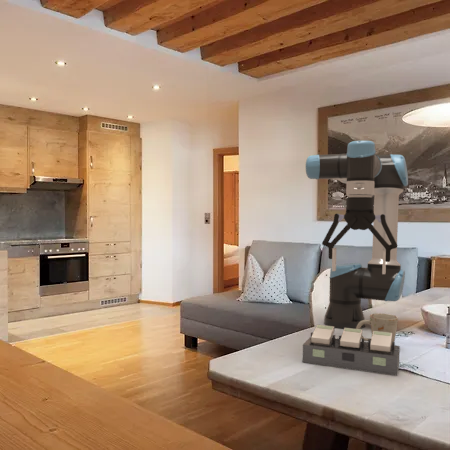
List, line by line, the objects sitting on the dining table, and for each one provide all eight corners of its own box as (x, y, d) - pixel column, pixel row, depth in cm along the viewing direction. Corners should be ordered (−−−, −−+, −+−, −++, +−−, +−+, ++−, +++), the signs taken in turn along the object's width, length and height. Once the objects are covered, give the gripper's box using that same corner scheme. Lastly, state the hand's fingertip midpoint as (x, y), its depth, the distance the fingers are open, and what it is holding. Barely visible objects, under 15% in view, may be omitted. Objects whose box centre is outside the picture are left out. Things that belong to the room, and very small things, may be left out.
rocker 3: (373, 335, 132) (373, 330, 131) (392, 337, 130) (392, 332, 129) (370, 349, 125) (370, 343, 124) (390, 351, 123) (390, 346, 122)
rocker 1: (317, 329, 138) (317, 324, 138) (334, 331, 136) (334, 326, 136) (311, 342, 131) (311, 336, 131) (329, 344, 129) (329, 338, 129)
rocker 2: (344, 332, 135) (344, 327, 134) (362, 334, 133) (362, 329, 133) (340, 345, 128) (340, 340, 127) (358, 348, 126) (358, 342, 125)
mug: (399, 352, 141) (400, 319, 141) (356, 349, 144) (357, 317, 144) (394, 345, 150) (395, 314, 149) (354, 342, 152) (355, 312, 152)
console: (311, 351, 140) (311, 328, 140) (399, 363, 130) (399, 338, 130) (302, 362, 130) (302, 337, 130) (397, 376, 120) (397, 348, 120)
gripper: (313, 196, 131) (311, 271, 132) (407, 196, 122) (405, 276, 122) (318, 197, 138) (316, 268, 139) (407, 197, 129) (406, 273, 129)
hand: (358, 272), depth 131 cm, fingers open, 13 cm apart
